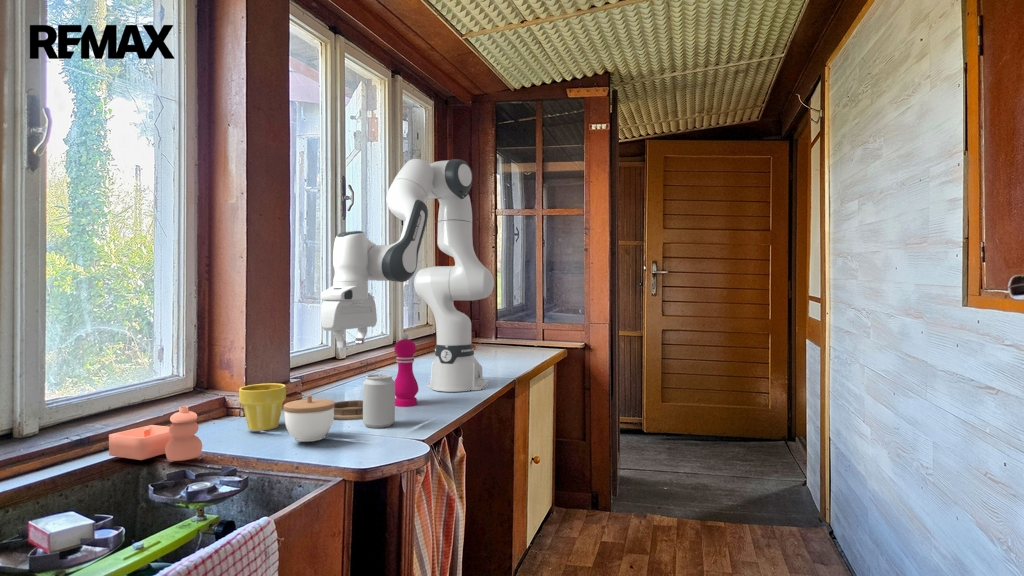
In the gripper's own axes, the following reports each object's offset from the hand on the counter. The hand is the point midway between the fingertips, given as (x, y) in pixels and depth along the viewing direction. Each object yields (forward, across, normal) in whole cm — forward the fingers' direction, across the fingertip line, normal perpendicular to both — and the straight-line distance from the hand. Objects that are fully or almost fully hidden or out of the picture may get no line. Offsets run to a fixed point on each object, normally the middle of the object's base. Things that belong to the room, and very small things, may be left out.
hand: (351, 346), depth 164 cm
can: (+18, +9, +14) cm, 24 cm away
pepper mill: (+18, -16, +7) cm, 25 cm away
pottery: (+18, +45, -14) cm, 50 cm away
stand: (+18, 0, 0) cm, 18 cm away
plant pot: (+18, +20, -11) cm, 29 cm away
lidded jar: (+18, +25, +6) cm, 31 cm away
